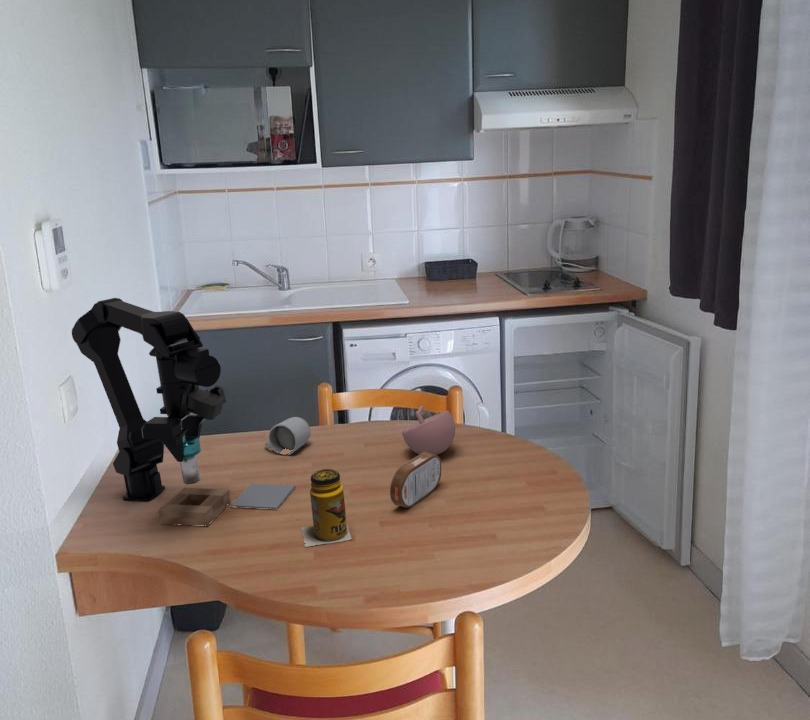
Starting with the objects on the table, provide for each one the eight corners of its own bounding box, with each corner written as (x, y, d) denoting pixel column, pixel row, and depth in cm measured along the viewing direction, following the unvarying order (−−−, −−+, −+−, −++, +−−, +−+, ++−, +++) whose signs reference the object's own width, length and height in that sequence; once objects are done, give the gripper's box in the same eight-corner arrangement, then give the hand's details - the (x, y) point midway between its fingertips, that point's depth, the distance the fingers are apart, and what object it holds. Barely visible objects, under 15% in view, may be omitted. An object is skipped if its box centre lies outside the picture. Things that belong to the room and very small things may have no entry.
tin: (432, 482, 156) (430, 444, 153) (445, 485, 154) (443, 447, 152) (390, 512, 144) (386, 472, 142) (403, 516, 142) (400, 475, 140)
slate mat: (230, 507, 150) (230, 505, 150) (251, 486, 160) (251, 483, 159) (277, 510, 148) (276, 507, 148) (295, 488, 157) (295, 485, 157)
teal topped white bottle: (197, 487, 144) (190, 446, 141) (173, 486, 145) (166, 445, 143) (210, 475, 149) (204, 435, 146) (186, 474, 150) (180, 435, 148)
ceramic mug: (314, 443, 181) (310, 413, 178) (298, 457, 173) (294, 426, 171) (276, 441, 184) (272, 411, 182) (258, 454, 177) (254, 423, 175)
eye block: (160, 524, 145) (158, 510, 144) (186, 500, 155) (184, 487, 154) (207, 527, 143) (205, 512, 142) (230, 503, 152) (228, 489, 151)
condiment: (352, 539, 135) (346, 479, 131) (305, 548, 133) (298, 486, 130) (346, 521, 142) (340, 463, 138) (301, 529, 140) (294, 470, 137)
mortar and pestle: (423, 440, 178) (420, 394, 175) (466, 449, 171) (464, 402, 168) (393, 458, 169) (389, 410, 166) (437, 468, 162) (434, 419, 159)
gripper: (189, 395, 131) (202, 477, 135) (236, 365, 148) (246, 438, 152) (133, 395, 133) (147, 475, 137) (185, 365, 151) (196, 437, 155)
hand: (187, 455), depth 145 cm, fingers closed on teal topped white bottle, 5 cm apart
